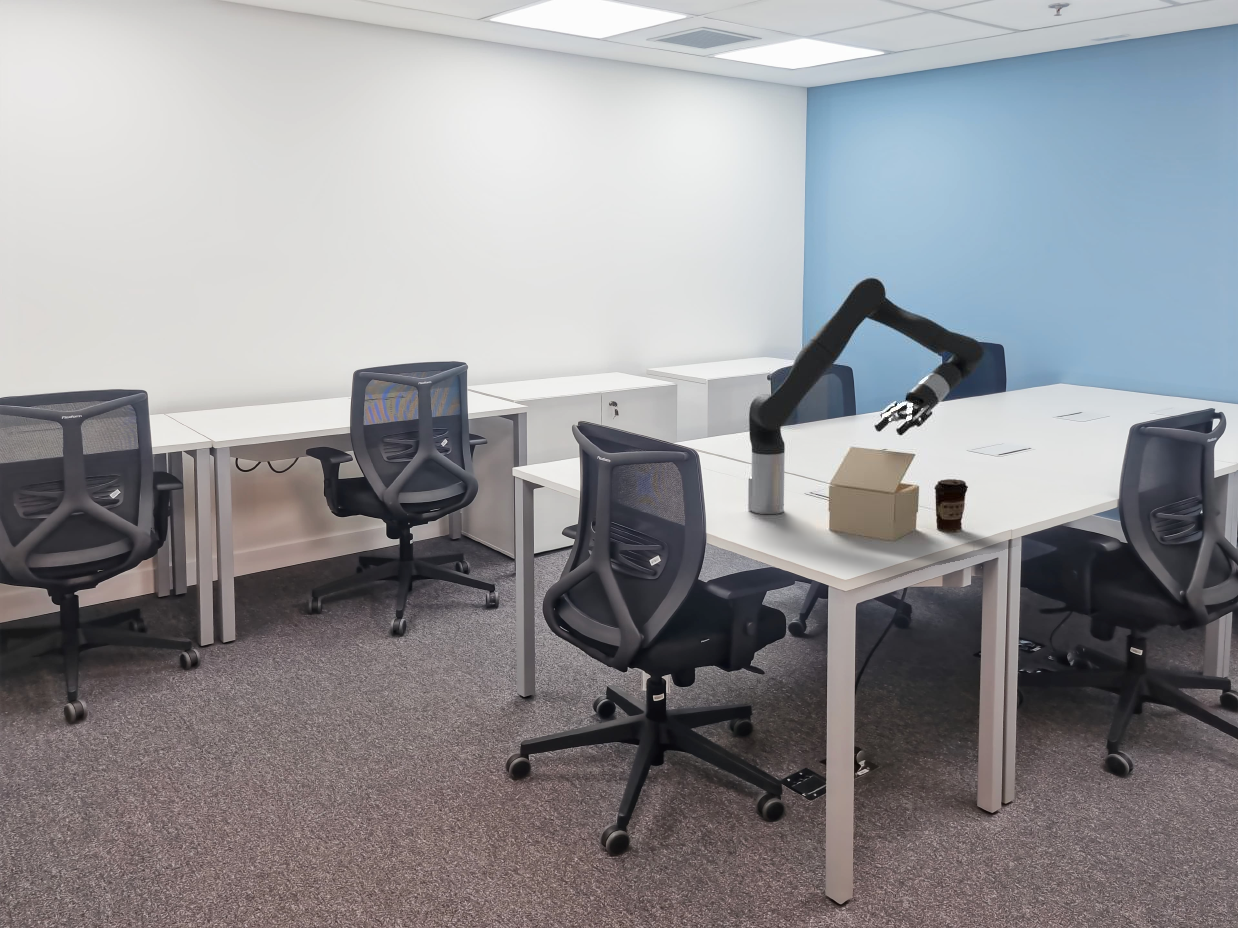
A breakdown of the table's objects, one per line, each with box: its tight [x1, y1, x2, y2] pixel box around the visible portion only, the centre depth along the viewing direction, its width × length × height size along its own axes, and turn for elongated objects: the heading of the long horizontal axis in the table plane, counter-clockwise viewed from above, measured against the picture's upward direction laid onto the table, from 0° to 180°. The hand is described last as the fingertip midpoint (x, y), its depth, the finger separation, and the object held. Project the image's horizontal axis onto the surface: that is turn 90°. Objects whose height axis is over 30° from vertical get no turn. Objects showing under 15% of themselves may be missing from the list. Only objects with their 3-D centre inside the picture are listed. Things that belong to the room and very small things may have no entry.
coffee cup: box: [934, 478, 969, 533], centre depth 264 cm, size 9×8×13 cm
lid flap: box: [829, 446, 916, 494], centre depth 262 cm, size 18×14×1 cm
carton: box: [828, 482, 920, 542], centre depth 265 cm, size 19×14×12 cm
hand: (887, 430), depth 264 cm, fingers open, 8 cm apart
